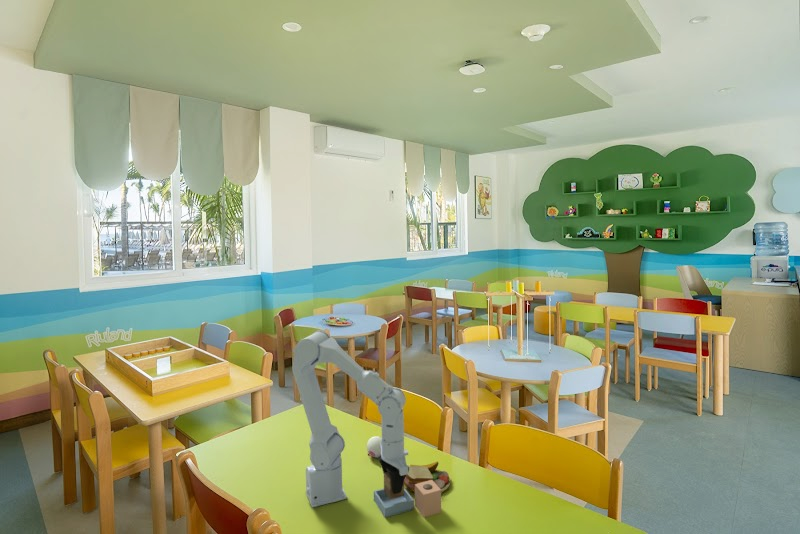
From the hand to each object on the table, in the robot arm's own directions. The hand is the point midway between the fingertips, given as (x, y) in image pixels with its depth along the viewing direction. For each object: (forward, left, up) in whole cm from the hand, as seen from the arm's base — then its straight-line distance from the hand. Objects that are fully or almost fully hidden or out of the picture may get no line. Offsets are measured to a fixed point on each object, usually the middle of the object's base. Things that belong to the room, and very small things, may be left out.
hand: (393, 487), depth 117 cm
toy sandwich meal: (+12, +5, -5) cm, 14 cm away
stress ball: (+5, +25, -5) cm, 26 cm away
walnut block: (0, 0, -2) cm, 2 cm away
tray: (0, 0, -5) cm, 5 cm away
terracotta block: (+7, -5, -5) cm, 10 cm away
